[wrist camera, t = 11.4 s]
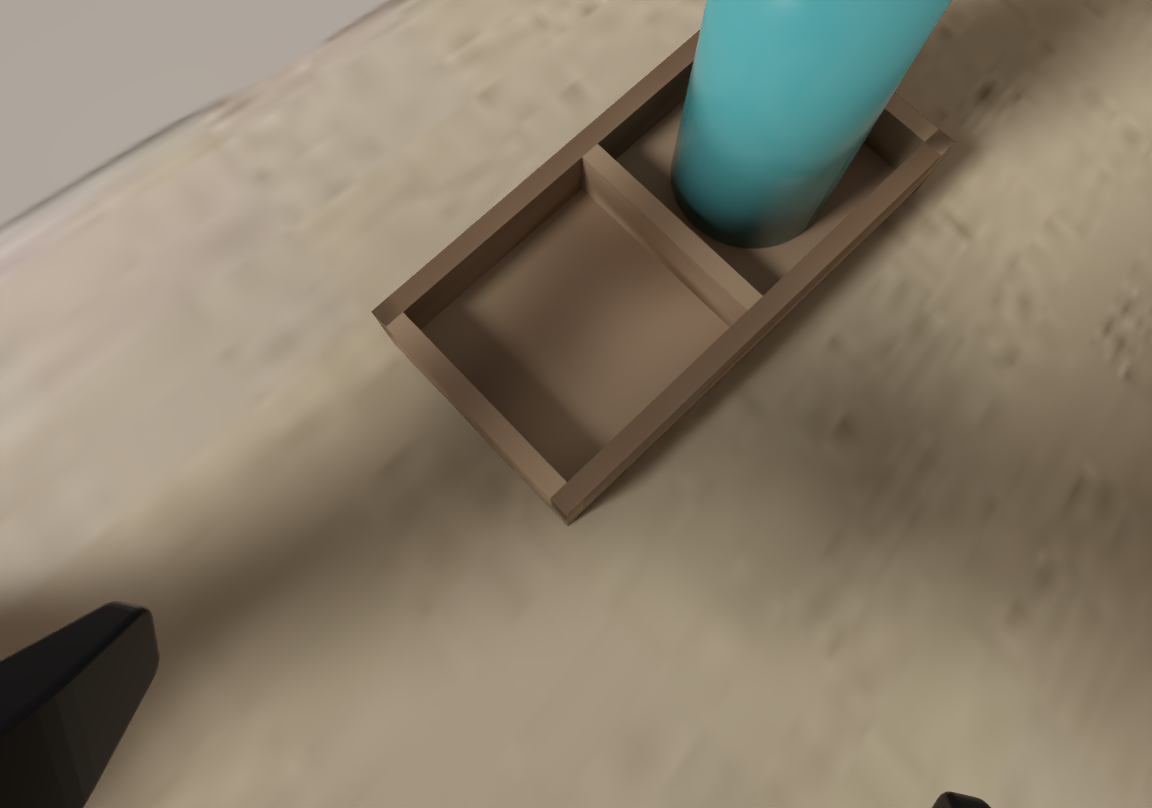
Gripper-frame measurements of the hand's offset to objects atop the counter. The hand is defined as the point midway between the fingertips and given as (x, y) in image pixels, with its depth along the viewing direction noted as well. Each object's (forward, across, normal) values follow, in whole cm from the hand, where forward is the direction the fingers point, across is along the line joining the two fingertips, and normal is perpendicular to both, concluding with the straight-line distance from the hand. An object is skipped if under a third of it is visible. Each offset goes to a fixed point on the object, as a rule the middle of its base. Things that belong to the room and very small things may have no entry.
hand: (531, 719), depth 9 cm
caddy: (+18, 0, +1) cm, 18 cm away
